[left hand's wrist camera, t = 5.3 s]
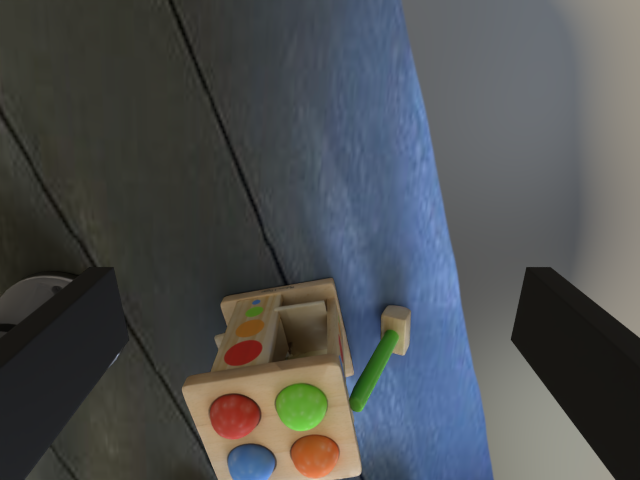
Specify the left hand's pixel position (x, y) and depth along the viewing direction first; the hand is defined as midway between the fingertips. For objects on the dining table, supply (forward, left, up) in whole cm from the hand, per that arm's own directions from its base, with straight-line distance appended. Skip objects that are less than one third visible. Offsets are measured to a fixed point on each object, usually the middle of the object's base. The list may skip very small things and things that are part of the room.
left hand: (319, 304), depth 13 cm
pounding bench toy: (-10, -20, -32) cm, 40 cm away
